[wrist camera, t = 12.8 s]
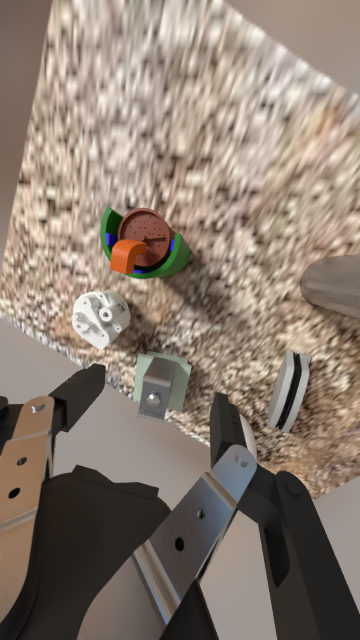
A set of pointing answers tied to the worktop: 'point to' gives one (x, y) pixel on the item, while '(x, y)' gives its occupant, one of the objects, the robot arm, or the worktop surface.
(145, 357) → the stand
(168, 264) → the motor
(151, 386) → the housing
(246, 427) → the sauce bottle
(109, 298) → the mechanical part
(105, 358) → the worktop surface
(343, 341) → the worktop surface
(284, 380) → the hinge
